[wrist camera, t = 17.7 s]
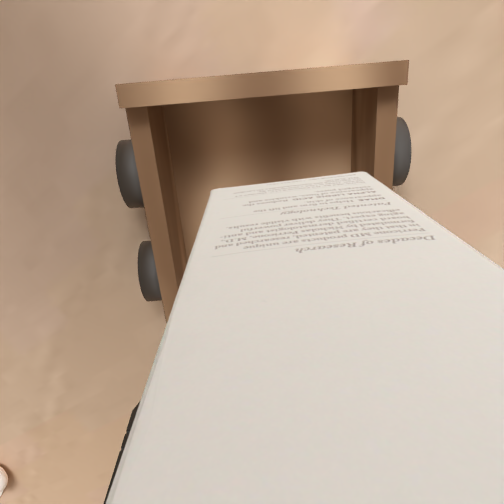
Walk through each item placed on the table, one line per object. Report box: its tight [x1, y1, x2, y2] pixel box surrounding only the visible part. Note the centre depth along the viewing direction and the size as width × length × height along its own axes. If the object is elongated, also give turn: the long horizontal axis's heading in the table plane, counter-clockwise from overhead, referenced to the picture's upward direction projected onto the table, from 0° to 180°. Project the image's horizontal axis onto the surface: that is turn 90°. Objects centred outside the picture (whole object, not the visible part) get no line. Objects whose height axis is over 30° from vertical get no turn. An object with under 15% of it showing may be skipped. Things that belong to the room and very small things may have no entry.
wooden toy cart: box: [115, 60, 411, 323], centre depth 24 cm, size 16×14×7 cm
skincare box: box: [106, 171, 504, 504], centre depth 9 cm, size 8×6×15 cm
